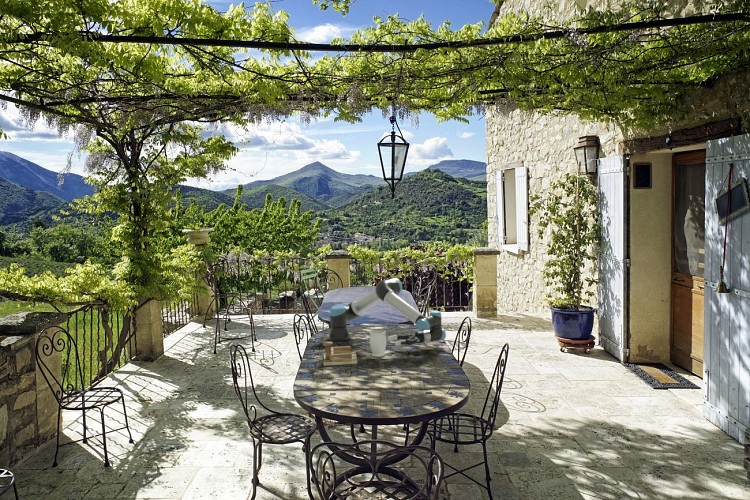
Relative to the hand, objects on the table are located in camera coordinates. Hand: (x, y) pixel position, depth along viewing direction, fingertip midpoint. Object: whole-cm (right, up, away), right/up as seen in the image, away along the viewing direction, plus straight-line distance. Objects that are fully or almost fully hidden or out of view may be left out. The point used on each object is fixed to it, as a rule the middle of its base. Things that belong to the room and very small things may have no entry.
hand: (391, 341), depth 332 cm
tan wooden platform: (-32, -10, -8) cm, 34 cm away
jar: (-8, -9, -2) cm, 12 cm away
